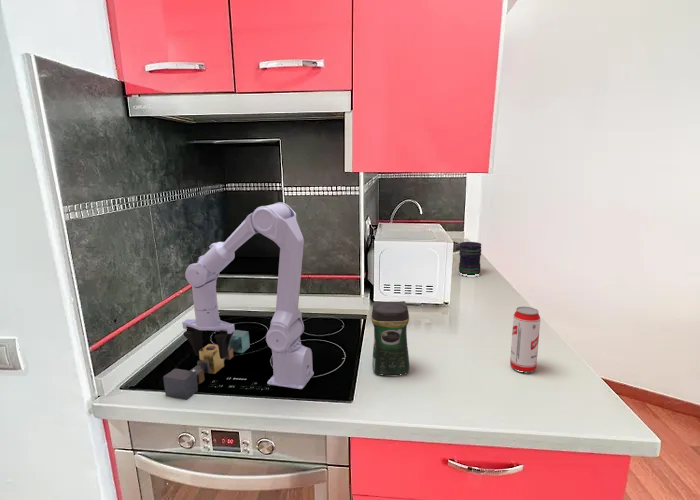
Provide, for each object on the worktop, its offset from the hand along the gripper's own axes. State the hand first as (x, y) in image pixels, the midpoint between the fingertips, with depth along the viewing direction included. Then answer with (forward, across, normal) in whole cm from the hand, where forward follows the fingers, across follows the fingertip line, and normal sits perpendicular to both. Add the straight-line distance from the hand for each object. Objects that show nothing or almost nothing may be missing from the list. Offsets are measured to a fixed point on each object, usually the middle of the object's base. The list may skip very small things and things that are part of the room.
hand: (211, 355), depth 106 cm
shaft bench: (+4, 0, 0) cm, 4 cm away
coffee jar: (+4, -46, -12) cm, 48 cm away
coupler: (+4, 0, 0) cm, 4 cm away
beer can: (+4, -79, -20) cm, 82 cm away
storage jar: (+4, -65, -108) cm, 127 cm away
